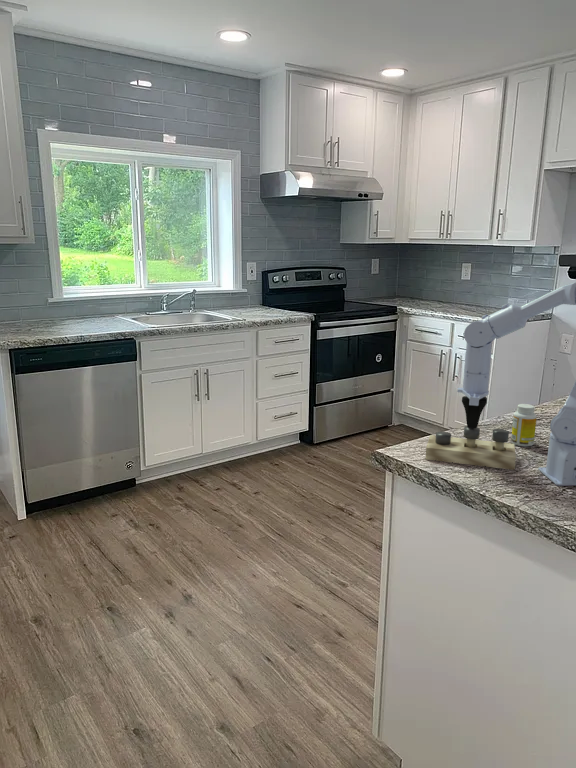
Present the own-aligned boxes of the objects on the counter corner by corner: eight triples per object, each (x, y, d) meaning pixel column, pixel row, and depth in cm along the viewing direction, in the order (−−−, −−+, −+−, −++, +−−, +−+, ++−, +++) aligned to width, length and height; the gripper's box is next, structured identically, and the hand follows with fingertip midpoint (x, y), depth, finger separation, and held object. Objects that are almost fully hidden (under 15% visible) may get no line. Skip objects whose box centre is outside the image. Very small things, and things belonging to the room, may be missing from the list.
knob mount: (512, 455, 141) (514, 443, 140) (514, 469, 132) (515, 457, 131) (429, 446, 147) (430, 435, 147) (425, 459, 138) (426, 447, 137)
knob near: (506, 450, 138) (508, 429, 137) (507, 455, 135) (509, 434, 134) (490, 448, 139) (492, 428, 138) (490, 453, 136) (492, 432, 135)
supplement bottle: (537, 444, 149) (542, 406, 147) (526, 448, 146) (530, 410, 143) (517, 438, 153) (521, 401, 151) (506, 443, 150) (510, 405, 148)
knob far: (450, 452, 143) (451, 432, 141) (449, 457, 139) (450, 436, 138) (435, 450, 144) (436, 430, 143) (433, 455, 140) (435, 435, 139)
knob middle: (478, 447, 140) (480, 426, 139) (478, 452, 137) (479, 431, 136) (462, 445, 141) (464, 425, 140) (462, 450, 138) (463, 429, 137)
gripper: (460, 364, 143) (456, 417, 146) (457, 376, 129) (452, 434, 132) (490, 366, 140) (485, 420, 143) (490, 379, 127) (485, 437, 130)
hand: (472, 427), depth 138 cm, fingers closed
